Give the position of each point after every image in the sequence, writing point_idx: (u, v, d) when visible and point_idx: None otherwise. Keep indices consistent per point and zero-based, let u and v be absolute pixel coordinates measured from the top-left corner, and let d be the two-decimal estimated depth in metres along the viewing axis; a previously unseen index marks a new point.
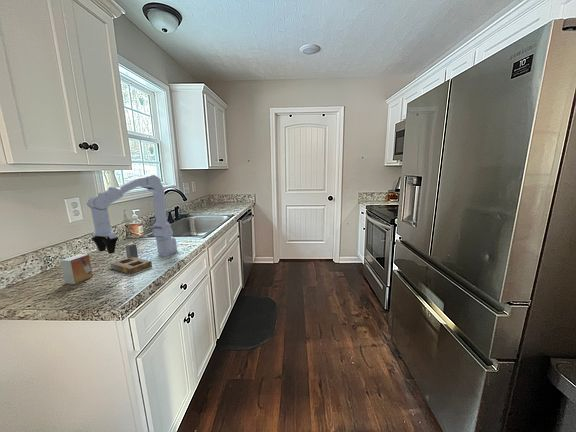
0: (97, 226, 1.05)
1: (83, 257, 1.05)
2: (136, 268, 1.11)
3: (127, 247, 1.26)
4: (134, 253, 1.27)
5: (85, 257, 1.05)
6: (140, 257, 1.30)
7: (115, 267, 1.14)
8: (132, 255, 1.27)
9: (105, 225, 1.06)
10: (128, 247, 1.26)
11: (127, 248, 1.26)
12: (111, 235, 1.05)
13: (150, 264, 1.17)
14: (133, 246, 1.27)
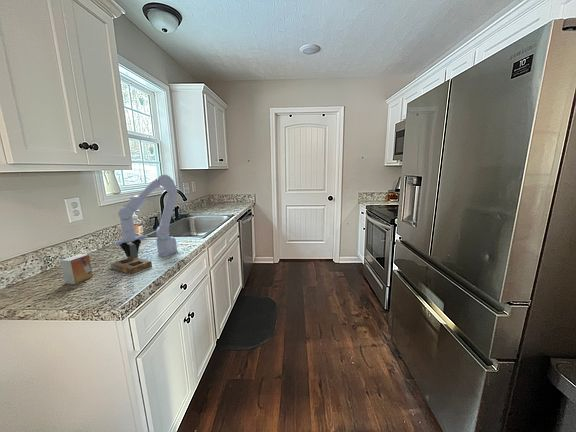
0: None
1: (83, 257, 1.05)
2: (136, 268, 1.11)
3: None
4: (134, 253, 1.27)
5: (85, 257, 1.05)
6: (140, 257, 1.30)
7: (115, 267, 1.14)
8: (132, 255, 1.27)
9: (122, 233, 1.24)
10: None
11: None
12: (114, 243, 1.21)
13: (150, 264, 1.17)
14: (133, 246, 1.27)
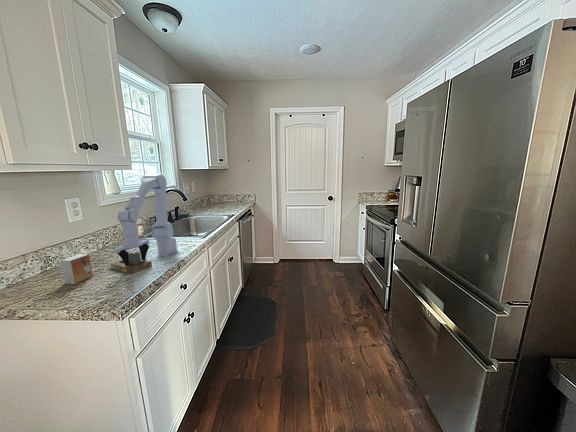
0: None
1: (83, 257, 1.05)
2: (136, 268, 1.11)
3: (130, 256, 1.12)
4: (137, 262, 1.14)
5: (85, 257, 1.05)
6: None
7: (115, 267, 1.14)
8: (135, 265, 1.13)
9: (125, 238, 1.09)
10: (131, 256, 1.12)
11: (130, 257, 1.12)
12: (115, 249, 1.07)
13: (150, 264, 1.17)
14: (136, 254, 1.13)
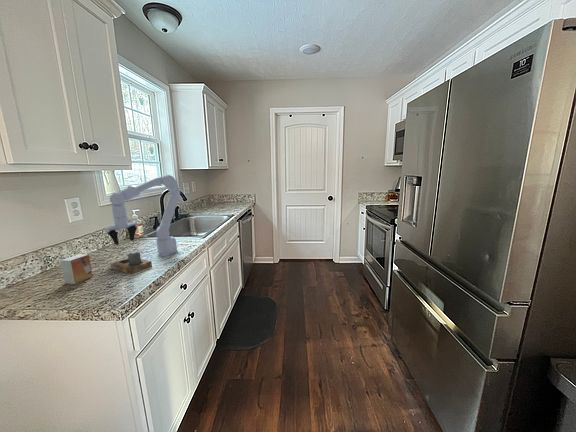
0: None
1: (83, 257, 1.05)
2: (136, 268, 1.11)
3: (130, 256, 1.12)
4: (137, 262, 1.14)
5: (85, 257, 1.05)
6: None
7: (115, 267, 1.14)
8: (135, 265, 1.13)
9: (114, 219, 1.21)
10: (131, 256, 1.12)
11: (130, 257, 1.12)
12: (105, 229, 1.18)
13: (150, 264, 1.17)
14: (136, 254, 1.13)
